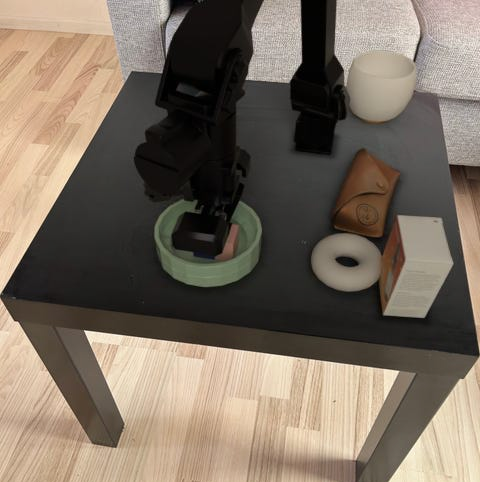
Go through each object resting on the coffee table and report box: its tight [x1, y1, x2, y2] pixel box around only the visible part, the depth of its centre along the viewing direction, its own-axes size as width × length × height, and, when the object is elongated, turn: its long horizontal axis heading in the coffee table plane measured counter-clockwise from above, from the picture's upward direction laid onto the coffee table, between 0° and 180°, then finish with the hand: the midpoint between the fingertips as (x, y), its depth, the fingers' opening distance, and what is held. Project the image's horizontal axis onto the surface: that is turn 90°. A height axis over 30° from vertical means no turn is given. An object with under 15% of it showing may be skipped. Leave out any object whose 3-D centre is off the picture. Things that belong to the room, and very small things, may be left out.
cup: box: [345, 49, 417, 124], centre depth 89 cm, size 12×12×10 cm
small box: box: [377, 214, 454, 319], centre depth 60 cm, size 8×6×10 cm
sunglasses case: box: [330, 147, 402, 239], centre depth 76 cm, size 18×7×7 cm
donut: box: [310, 232, 383, 293], centre depth 66 cm, size 10×4×10 cm
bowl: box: [154, 198, 263, 288], centre depth 68 cm, size 15×15×4 cm
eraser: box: [192, 224, 239, 261], centre depth 68 cm, size 6×4×4 cm
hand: (216, 244), depth 68 cm, fingers closed on eraser, 4 cm apart
